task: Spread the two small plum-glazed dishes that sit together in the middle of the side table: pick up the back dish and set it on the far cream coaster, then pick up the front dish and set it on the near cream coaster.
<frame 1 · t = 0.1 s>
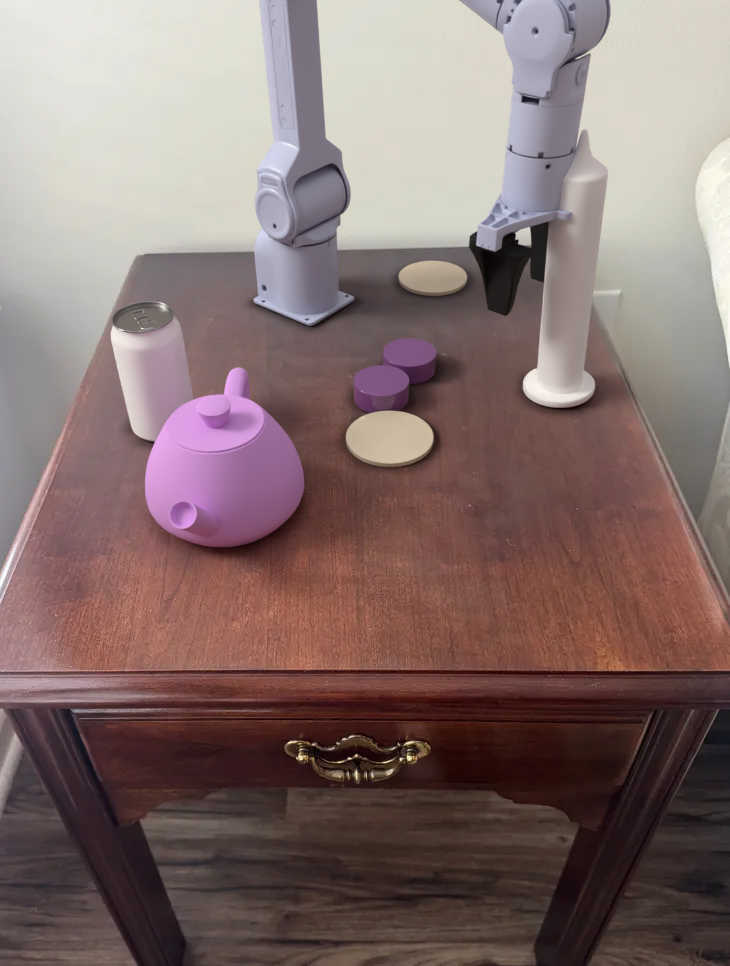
hand: (520, 295, 81), 10 cm above the table, tool pointing down, fingers open, 7 cm apart
can: (164, 426, 85), on the table
teapot: (226, 511, 76), on the table
coaster near: (389, 440, 82), on the table
candle: (558, 390, 87), on the table
dish a: (408, 369, 91), on the table
coaster far: (432, 279, 105), on the table
dish b: (381, 398, 87), on the table
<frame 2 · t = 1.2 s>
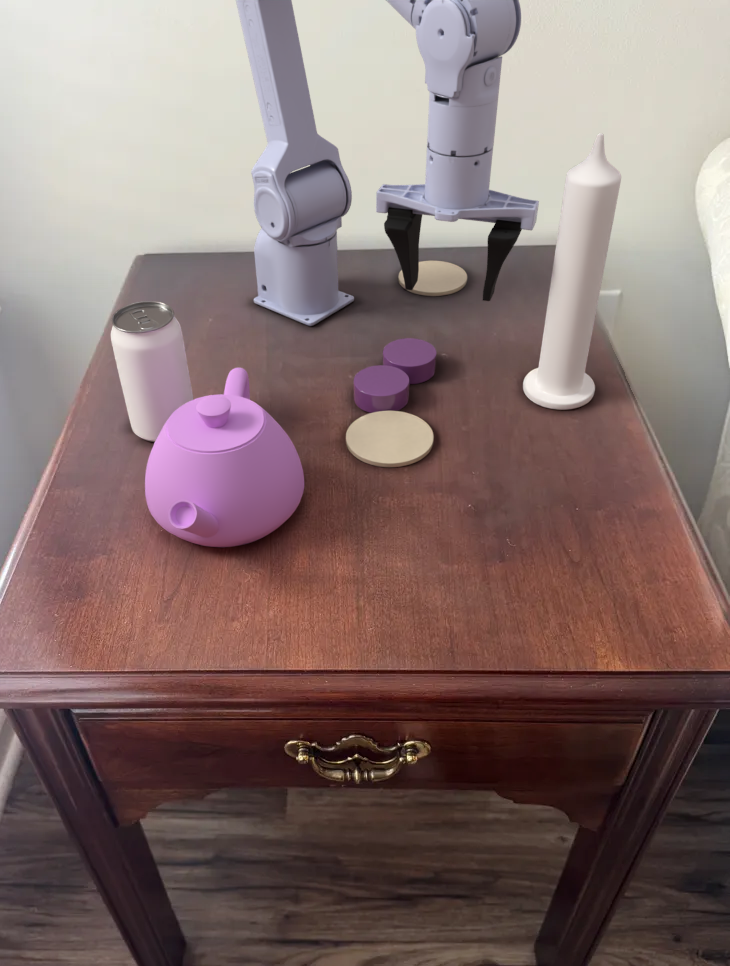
hand: (449, 290, 83), 10 cm above the table, tool pointing down, fingers open, 7 cm apart
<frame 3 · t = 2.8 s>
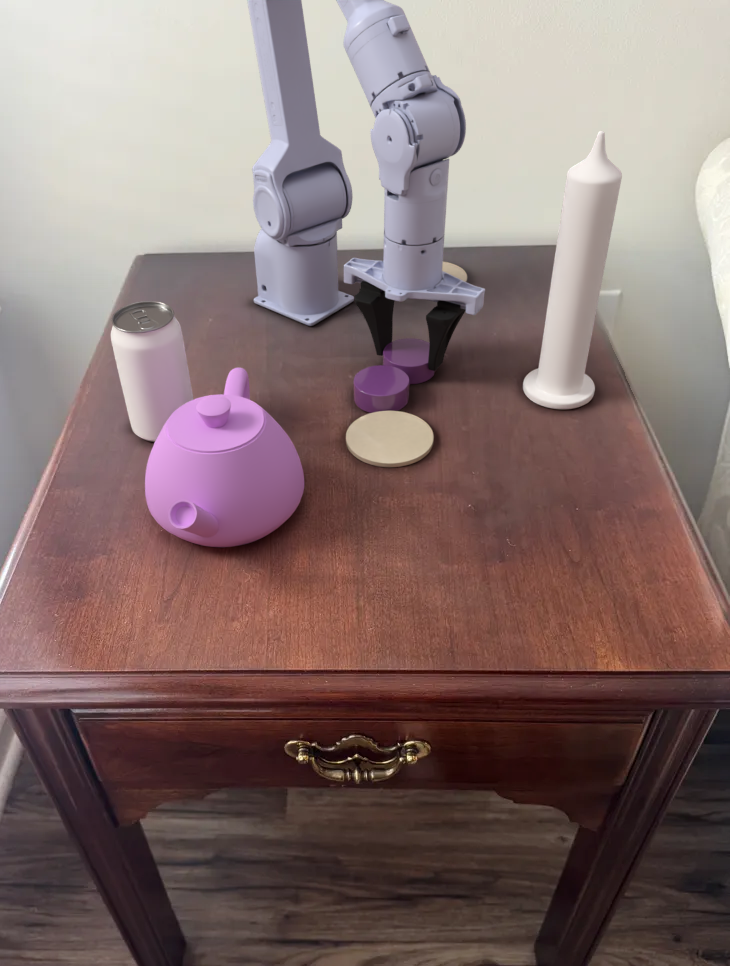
hand: (409, 358, 90), 1 cm above the table, tool pointing down, fingers closed on dish a, 5 cm apart
dish a: (409, 369, 91), on the table, touching gripper
everything else where it was.
when the fingers open (2 cm above the table, at t = 7.8 s): dish a stays where it is, resting on coaster far.
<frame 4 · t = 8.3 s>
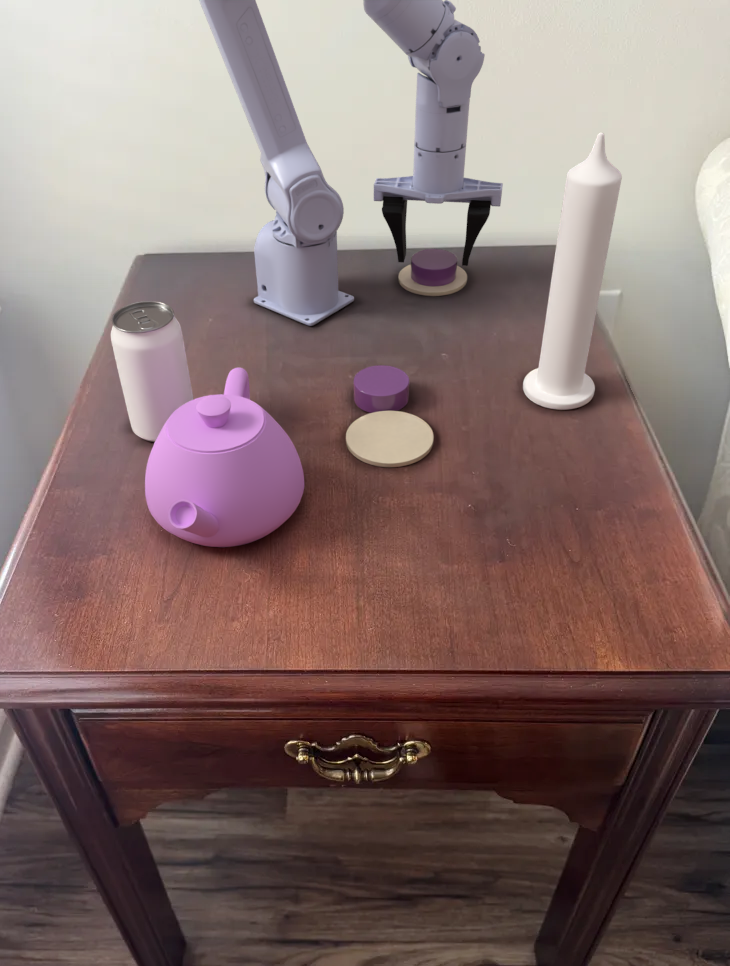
hand: (433, 260, 103), 3 cm above the table, tool pointing down, fingers open, 7 cm apart
dish a: (433, 275, 105), resting on coaster far
everything else where it was.
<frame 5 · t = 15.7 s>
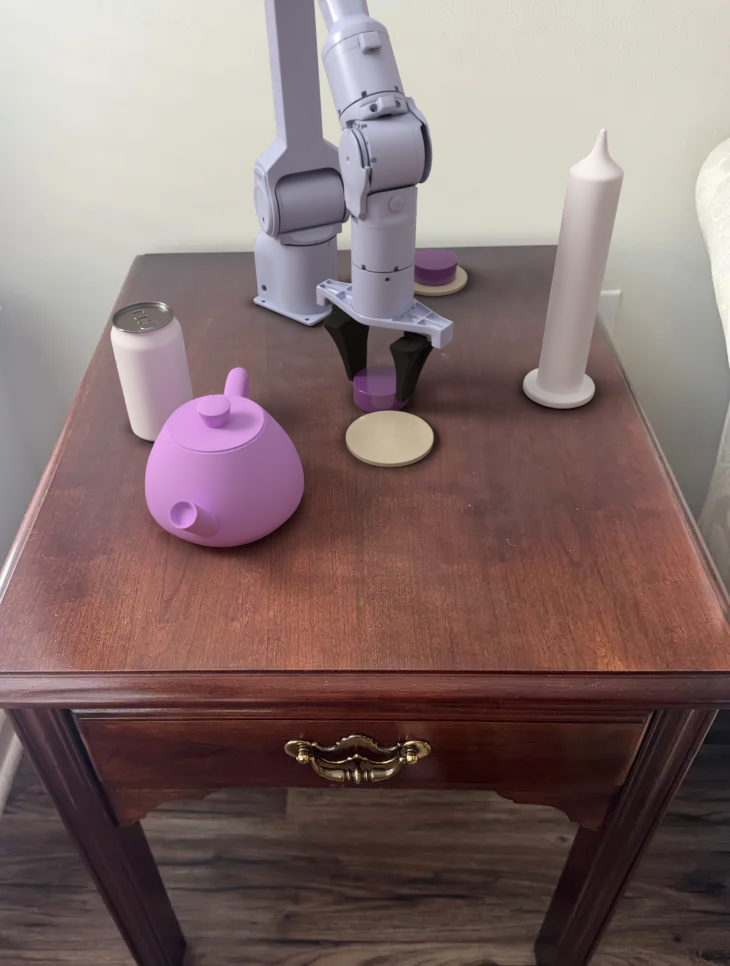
hand: (381, 386, 86), 1 cm above the table, tool pointing down, fingers closed on dish b, 5 cm apart
dish b: (380, 398, 87), on the table, touching gripper
everything else where it was.
when the fingers open (2 cm above the table, at t = 19.8 s): dish b stays where it is, resting on coaster near.
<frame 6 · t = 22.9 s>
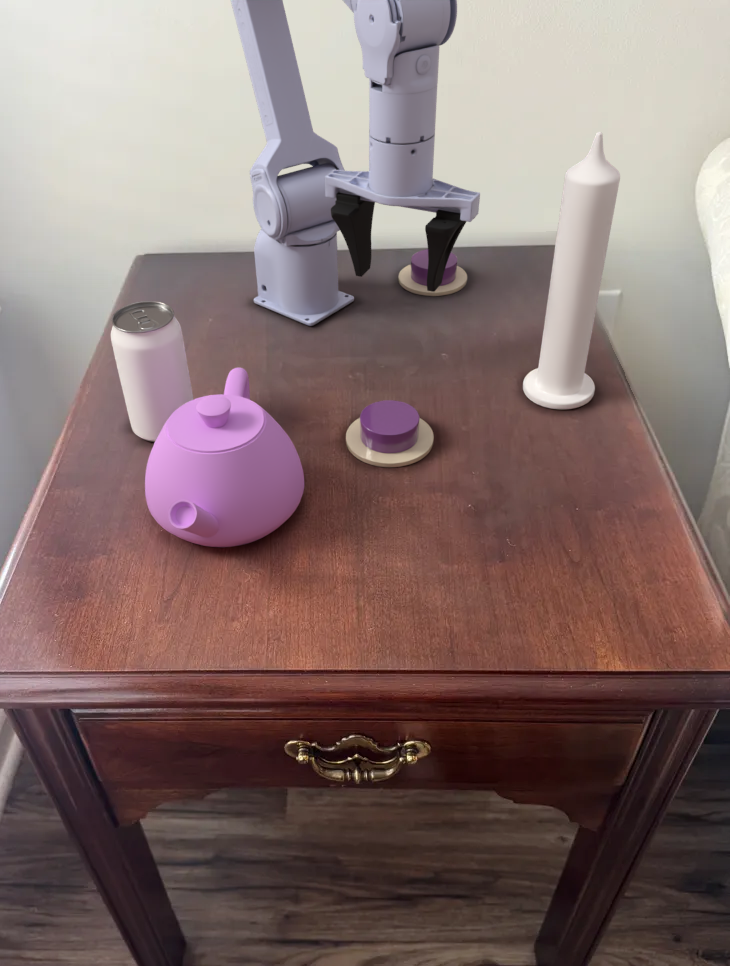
hand: (398, 279, 84), 10 cm above the table, tool pointing down, fingers open, 7 cm apart
dish b: (389, 435, 82), resting on coaster near
everything else where it was.
at the end: dish a 0.1 cm off-centre on the coaster far, point 0.5 cm above the coaster far's base; dish b 0.0 cm off-centre on the coaster near, point 0.5 cm above the coaster near's base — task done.
